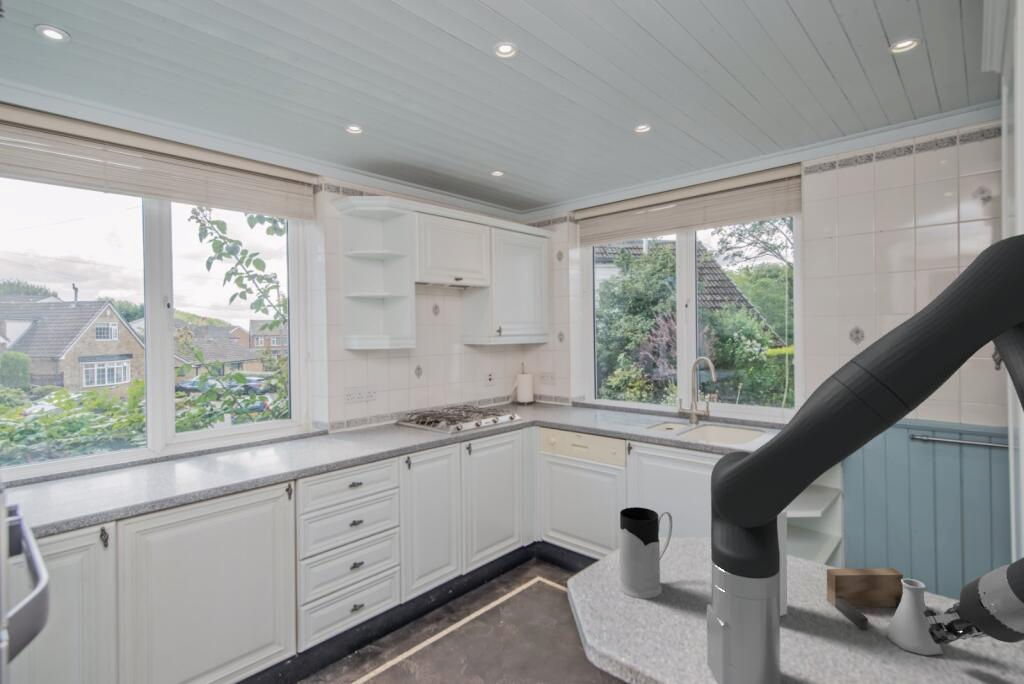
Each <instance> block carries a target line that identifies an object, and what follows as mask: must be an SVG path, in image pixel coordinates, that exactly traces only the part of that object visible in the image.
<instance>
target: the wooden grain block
mask: <svg viewBox="0 0 1024 684" xmlns="http://www.w3.org/2000/svg"><path fill="white" fill-rule="evenodd" d="M901 579H904V575H903V573H901V572H900V571H898V570H896V569H895V568H893V567H890V568H887V567H886V568H885V567H883V568H876V567H875V568H827V569H826V601H827V602H829V604H831V606H833V607H834V608H835V609H836V610H838V611H839V612H840V613H841V614H842V615H843V616H844V617H846V619H848V620H849V621H850V622H851V623H852V624H853V625H854V626H856V627H857V628H858V629H859V630H860V631H868V630H869V622H868V621H869V618H868V617H867V616H866V615H865V614H863V613H862V612H861V611H859V610H858V609H857V608H891V607H892V608H896V609H897V608H898V606H899V604H900V602H901V598H902V594H903V585H902V582H901Z"/></svg>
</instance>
